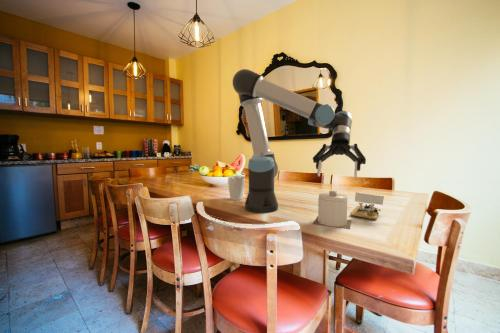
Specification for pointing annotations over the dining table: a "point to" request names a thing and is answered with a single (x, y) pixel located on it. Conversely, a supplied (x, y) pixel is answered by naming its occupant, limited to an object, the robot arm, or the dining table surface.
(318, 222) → the board
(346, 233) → the dining table surface
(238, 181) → the cup
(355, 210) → the cake
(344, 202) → the pot with lid
